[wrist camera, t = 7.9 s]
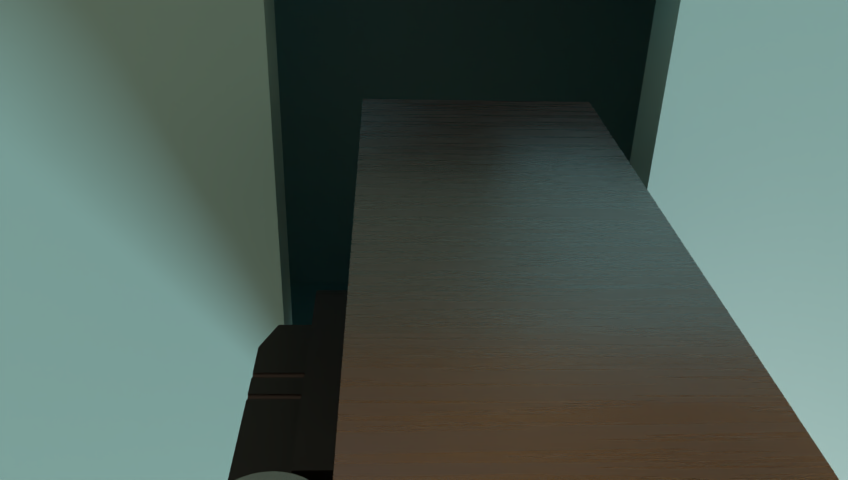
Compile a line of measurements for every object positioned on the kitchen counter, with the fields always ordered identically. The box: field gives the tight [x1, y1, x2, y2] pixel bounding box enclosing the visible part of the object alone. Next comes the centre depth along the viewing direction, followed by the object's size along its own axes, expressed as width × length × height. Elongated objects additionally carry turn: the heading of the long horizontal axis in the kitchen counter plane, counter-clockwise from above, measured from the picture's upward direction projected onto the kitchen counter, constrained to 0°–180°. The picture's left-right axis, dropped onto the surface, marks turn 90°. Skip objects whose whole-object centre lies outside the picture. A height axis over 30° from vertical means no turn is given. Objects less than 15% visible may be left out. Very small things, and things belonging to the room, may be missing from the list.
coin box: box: [0, 0, 848, 480], centre depth 19 cm, size 16×16×13 cm
